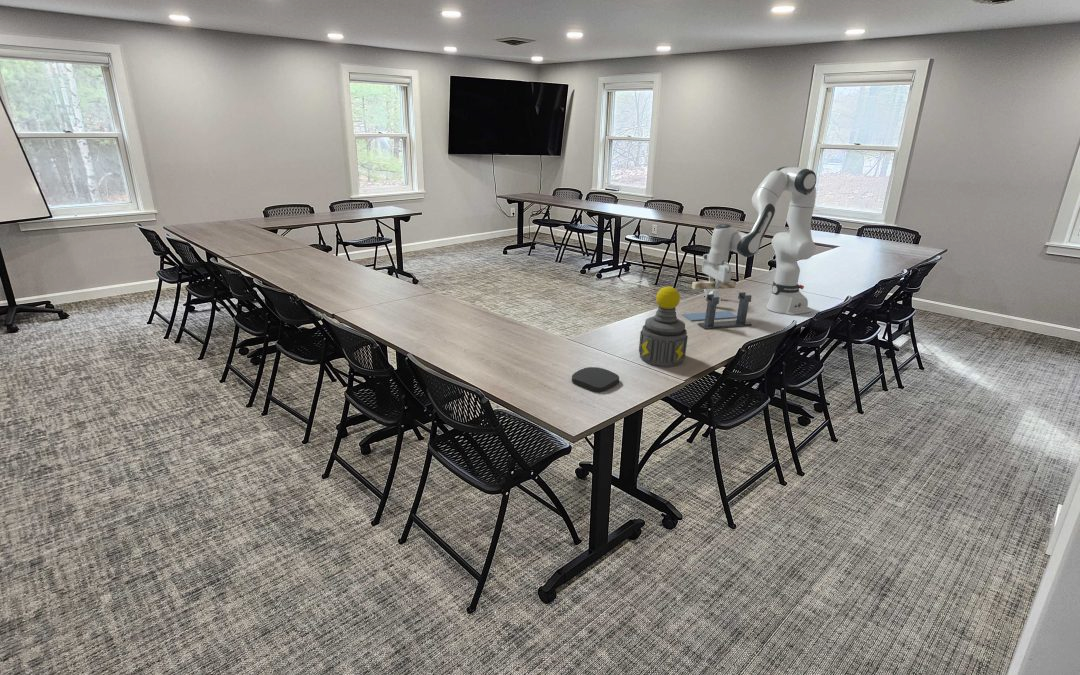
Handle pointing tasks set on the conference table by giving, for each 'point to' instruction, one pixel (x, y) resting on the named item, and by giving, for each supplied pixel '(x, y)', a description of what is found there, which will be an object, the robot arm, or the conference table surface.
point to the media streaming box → (595, 379)
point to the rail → (712, 285)
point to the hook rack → (726, 324)
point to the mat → (702, 316)
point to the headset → (712, 292)
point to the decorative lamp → (664, 332)
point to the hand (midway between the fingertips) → (713, 286)
